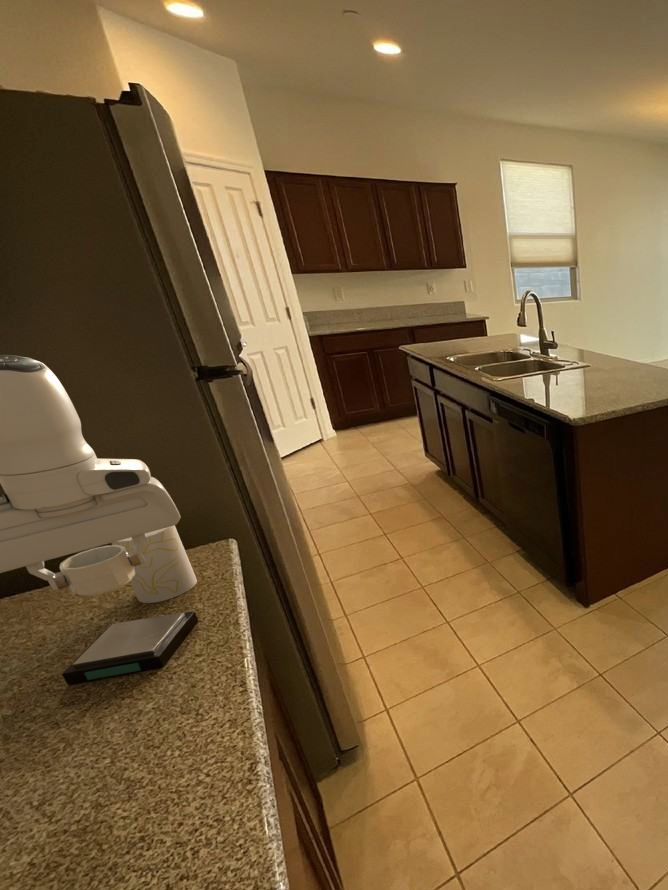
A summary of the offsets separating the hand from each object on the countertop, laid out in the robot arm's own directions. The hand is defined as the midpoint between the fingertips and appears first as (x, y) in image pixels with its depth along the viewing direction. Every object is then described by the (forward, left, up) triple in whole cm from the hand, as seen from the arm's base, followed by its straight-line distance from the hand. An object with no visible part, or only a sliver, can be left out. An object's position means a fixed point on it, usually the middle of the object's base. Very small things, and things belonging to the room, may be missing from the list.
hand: (102, 574), depth 72 cm
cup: (-4, +18, -14) cm, 23 cm away
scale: (0, 0, -13) cm, 13 cm away
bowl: (0, 0, -2) cm, 2 cm away
